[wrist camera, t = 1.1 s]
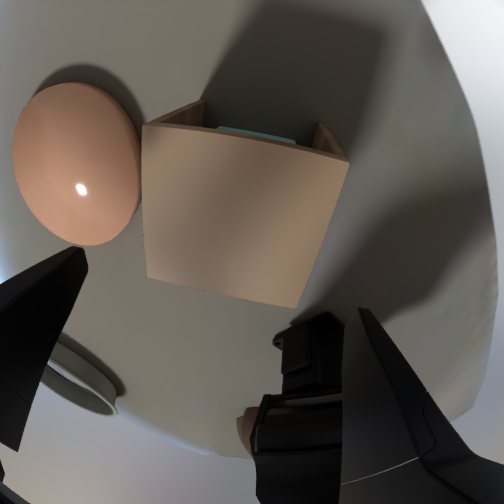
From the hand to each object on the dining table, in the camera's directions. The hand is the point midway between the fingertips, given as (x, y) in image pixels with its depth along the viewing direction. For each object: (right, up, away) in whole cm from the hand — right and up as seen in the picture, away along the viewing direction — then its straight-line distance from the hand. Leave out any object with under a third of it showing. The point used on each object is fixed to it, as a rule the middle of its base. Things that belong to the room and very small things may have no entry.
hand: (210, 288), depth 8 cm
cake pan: (-34, -21, +34) cm, 52 cm away
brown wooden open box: (+1, +6, +8) cm, 10 cm away
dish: (-12, +8, +9) cm, 17 cm away
